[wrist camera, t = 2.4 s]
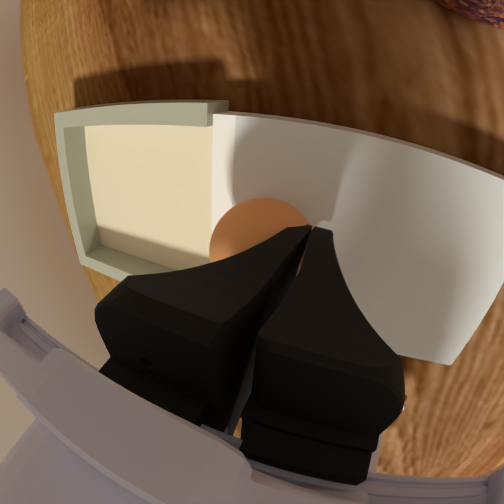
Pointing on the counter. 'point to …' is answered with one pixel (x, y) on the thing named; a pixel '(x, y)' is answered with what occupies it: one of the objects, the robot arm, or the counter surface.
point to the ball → (252, 226)
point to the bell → (478, 10)
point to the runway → (378, 220)
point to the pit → (139, 183)
